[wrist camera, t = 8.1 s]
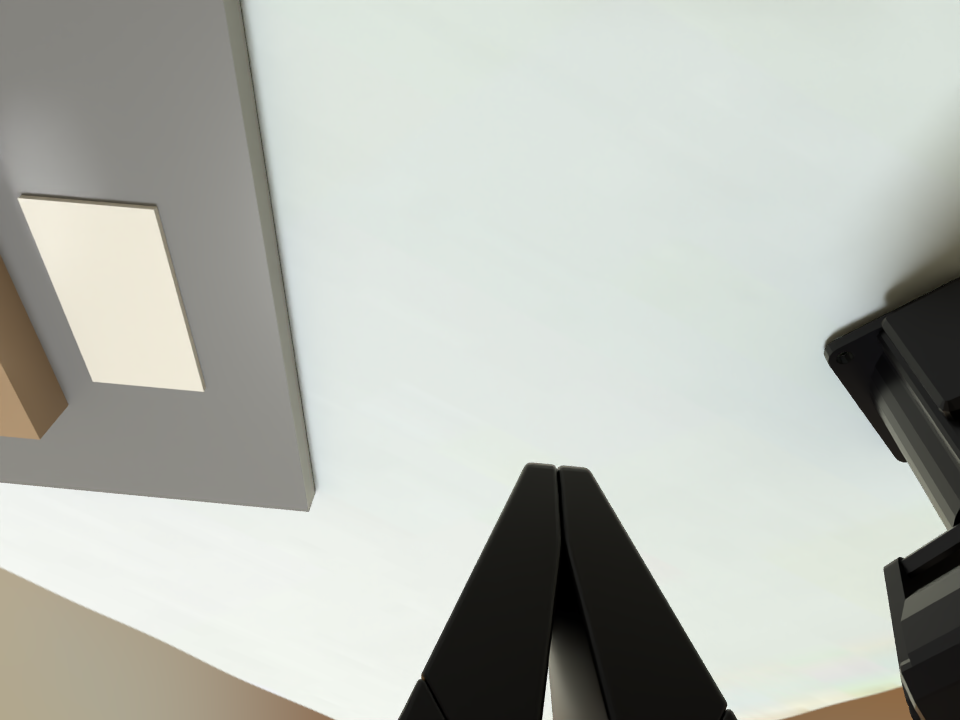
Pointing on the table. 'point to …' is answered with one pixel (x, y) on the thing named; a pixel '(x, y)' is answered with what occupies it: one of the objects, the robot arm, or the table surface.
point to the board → (141, 260)
